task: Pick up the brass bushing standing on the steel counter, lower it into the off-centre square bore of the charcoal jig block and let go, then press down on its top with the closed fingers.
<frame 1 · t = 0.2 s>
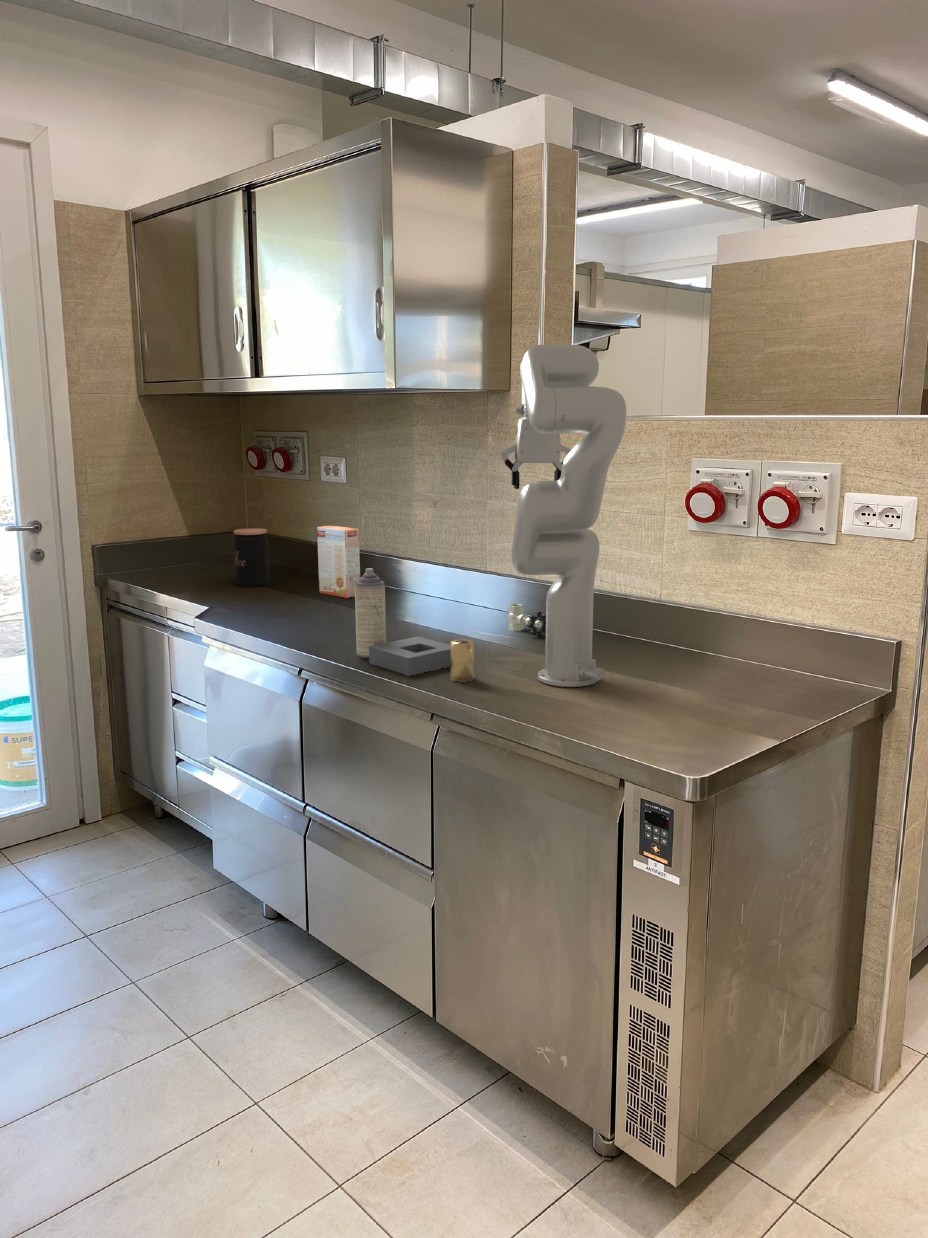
hand: (536, 488, 215), 37 cm above the counter, tool pointing down, fingers open, 9 cm apart
charcoal jig: (414, 664, 203), on the counter
cracker box: (340, 595, 285), on the counter
coffee jar: (253, 585, 302), on the counter
valve: (525, 633, 233), on the counter
brass bushing: (462, 679, 192), on the counter
aerosol can: (371, 656, 212), on the counter
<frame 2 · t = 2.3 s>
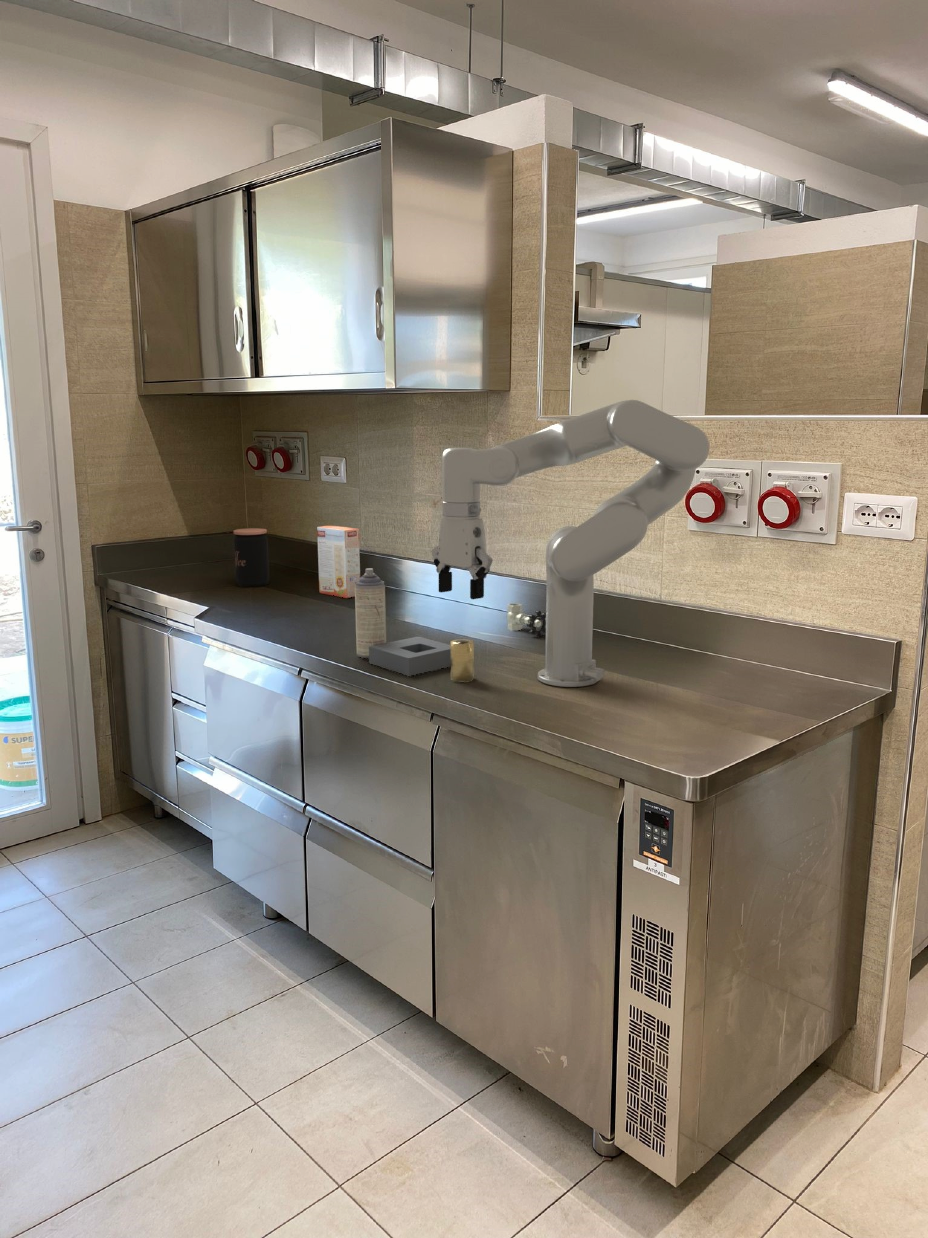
hand: (460, 594, 188), 18 cm above the counter, tool pointing down, fingers open, 9 cm apart
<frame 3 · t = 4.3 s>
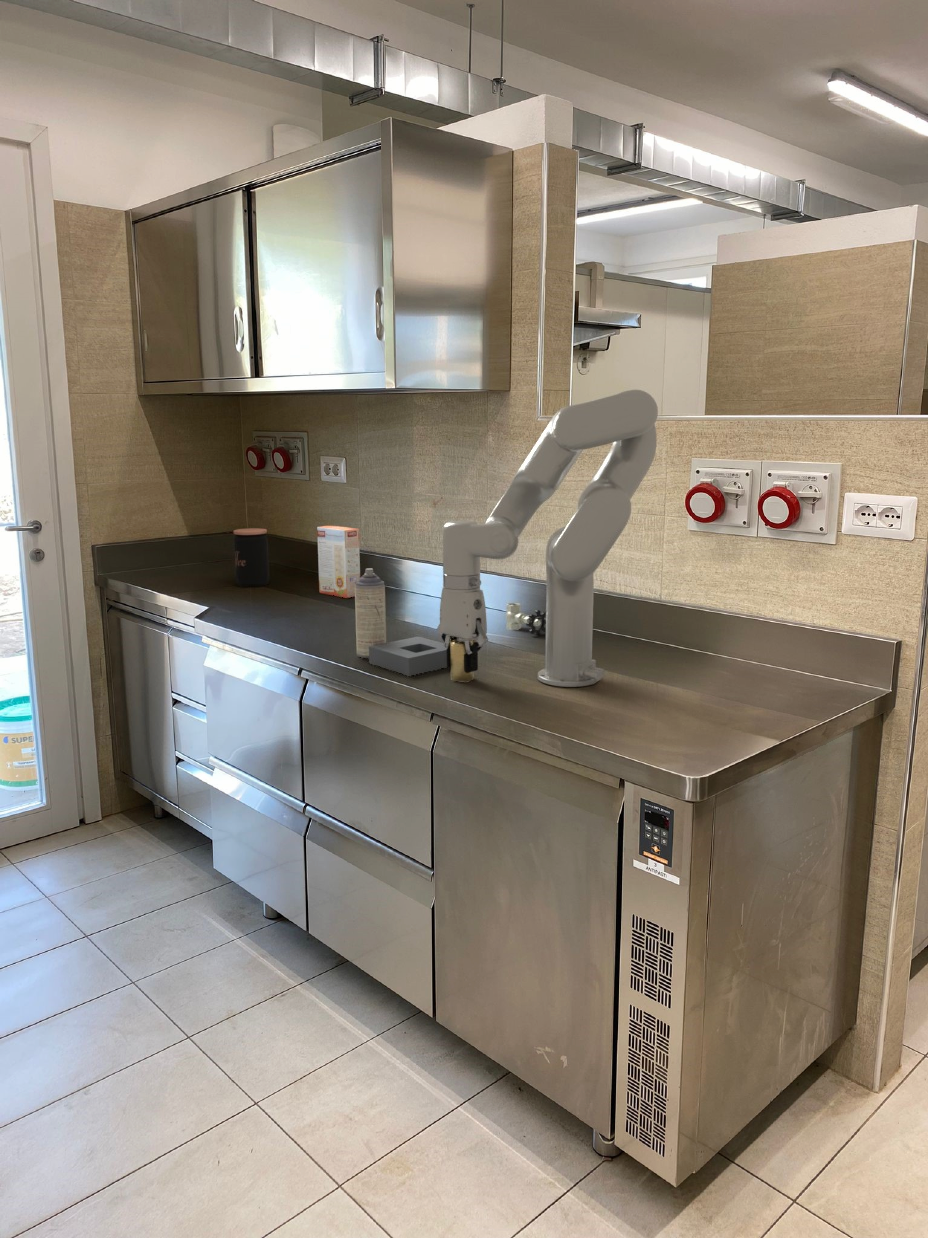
hand: (462, 668, 191), 2 cm above the counter, tool pointing down, fingers closed on brass bushing, 4 cm apart
brass bushing: (462, 679, 192), on the counter, touching gripper
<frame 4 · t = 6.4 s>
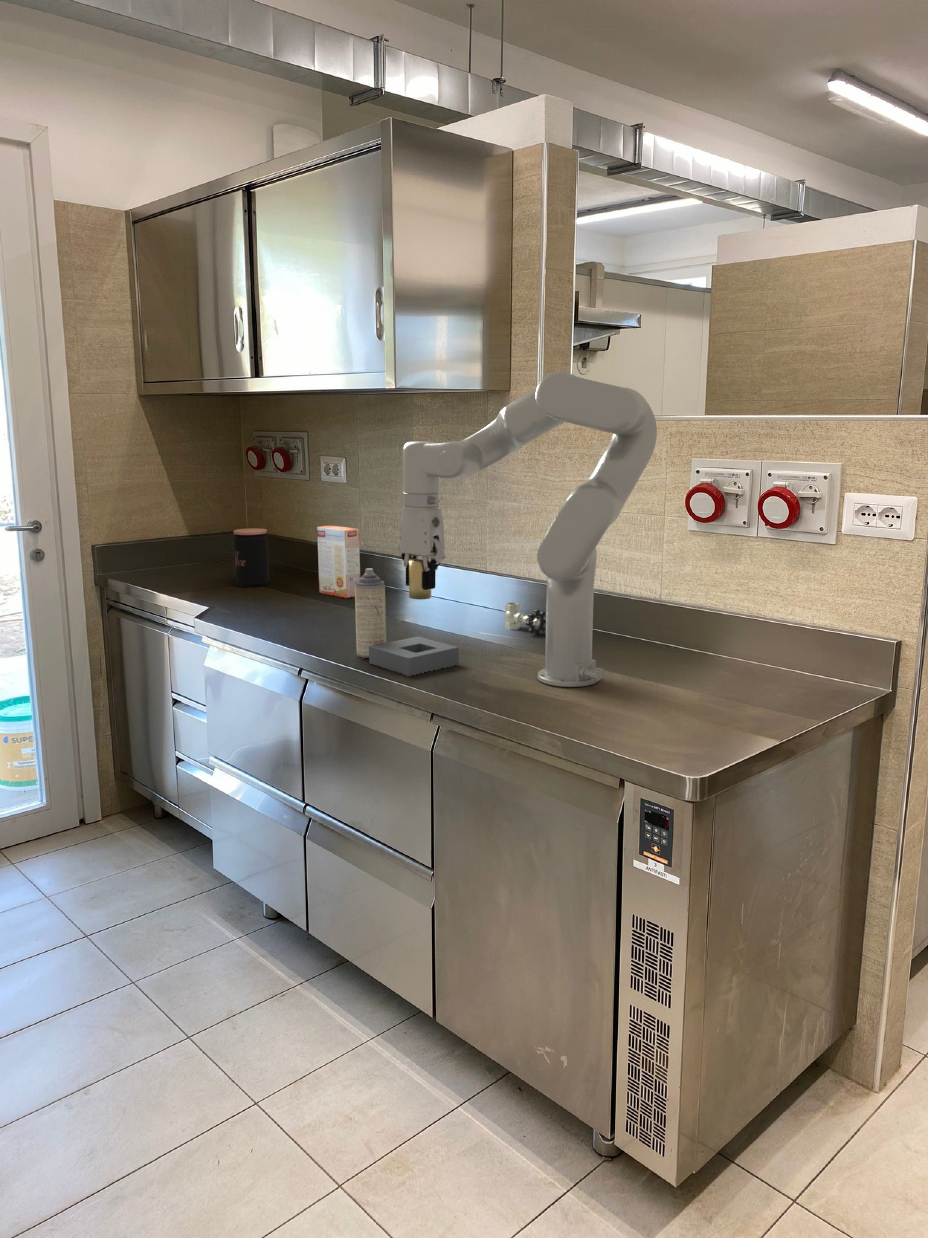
hand: (420, 586, 197), 18 cm above the counter, tool pointing down, fingers closed on brass bushing, 4 cm apart
brass bushing: (420, 597, 198), point 16 cm above the counter, touching gripper
when the fingers open (5 cm above the counter, at t = 8.8 s): brass bushing drops 2 cm, resting in charcoal jig.
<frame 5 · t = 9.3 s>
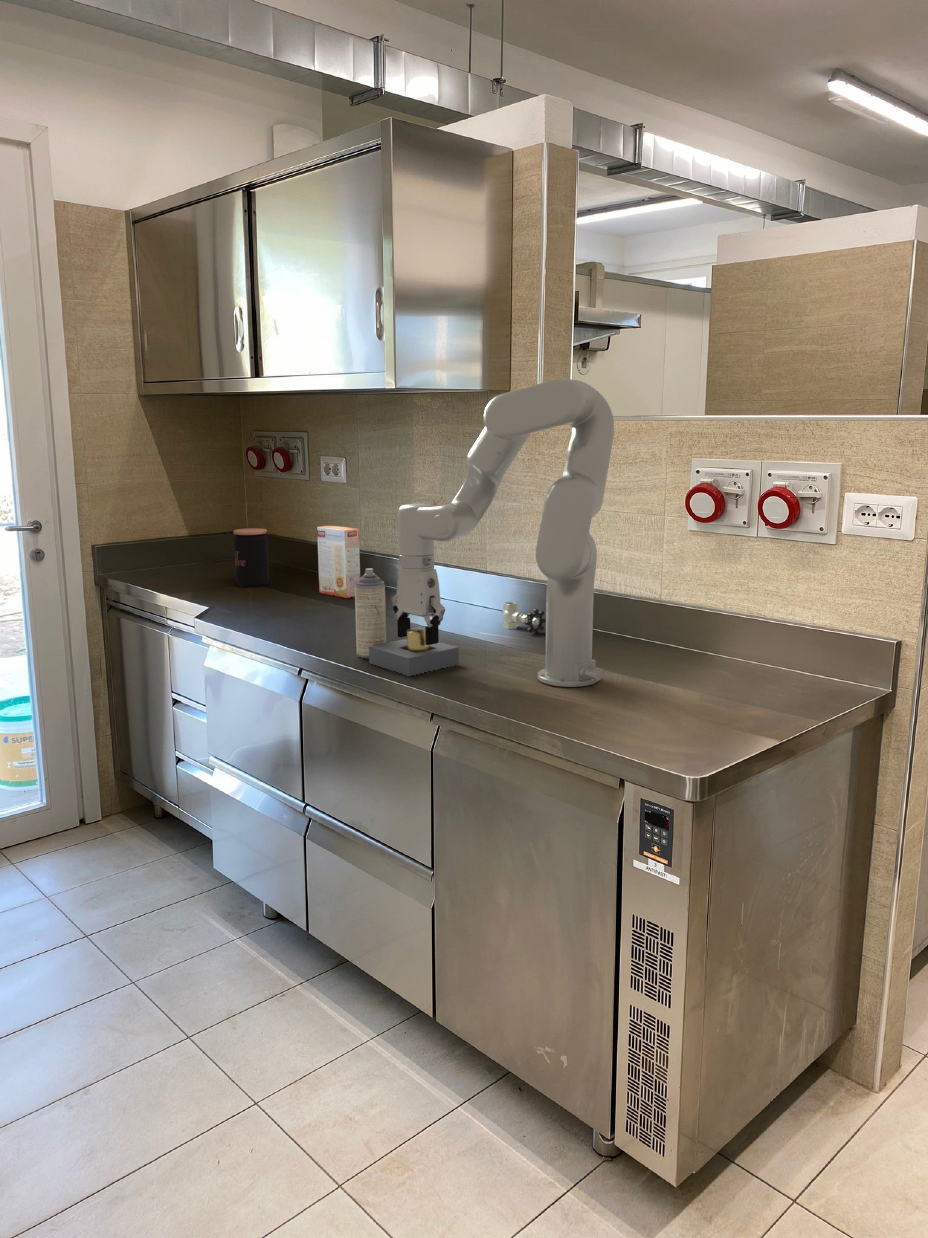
hand: (417, 640, 201), 6 cm above the counter, tool pointing down, fingers open, 9 cm apart
brass bushing: (418, 666, 202), resting in charcoal jig
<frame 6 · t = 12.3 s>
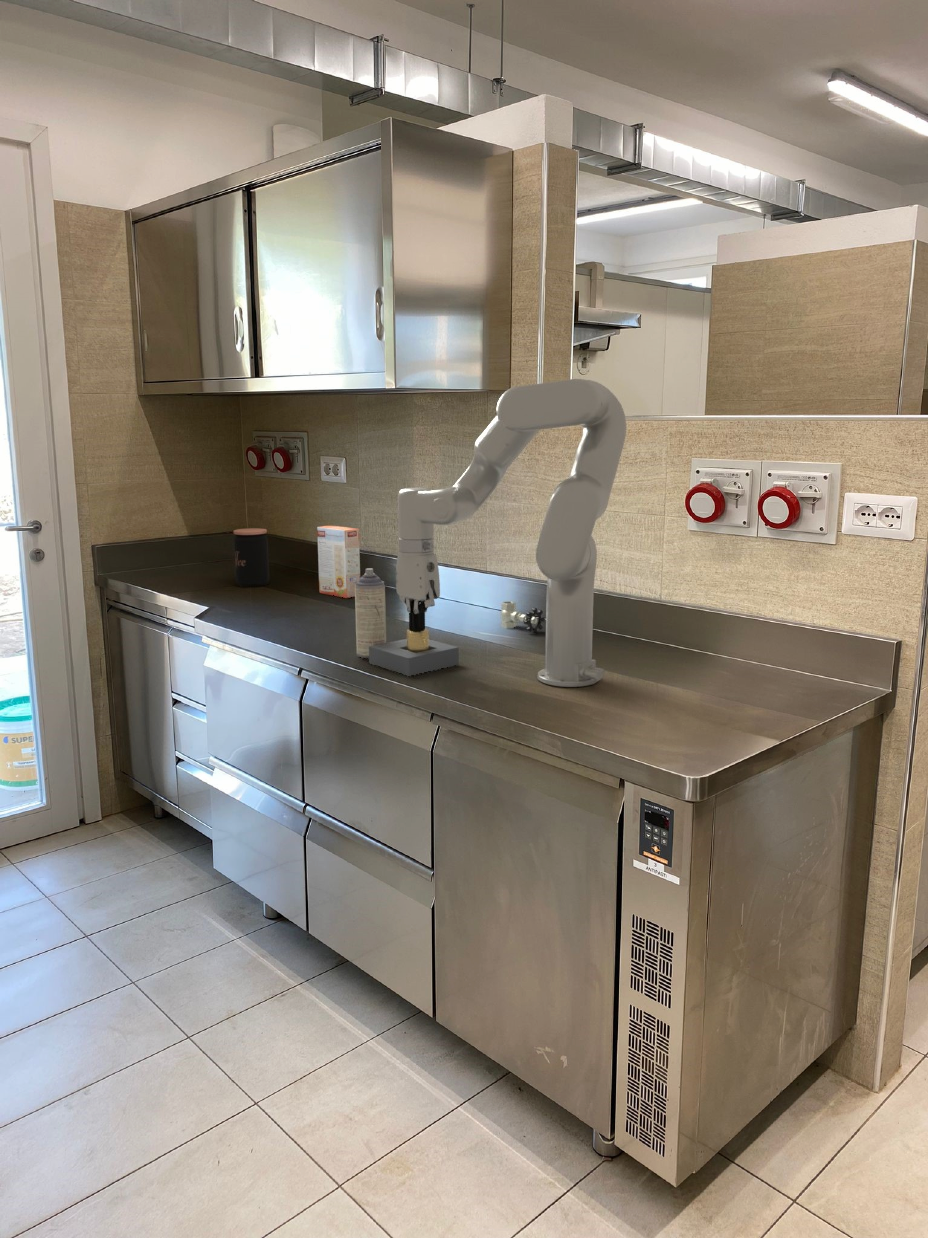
hand: (417, 630, 201), 8 cm above the counter, tool pointing down, fingers closed
brass bushing: (418, 666, 202), resting in charcoal jig, touching gripper
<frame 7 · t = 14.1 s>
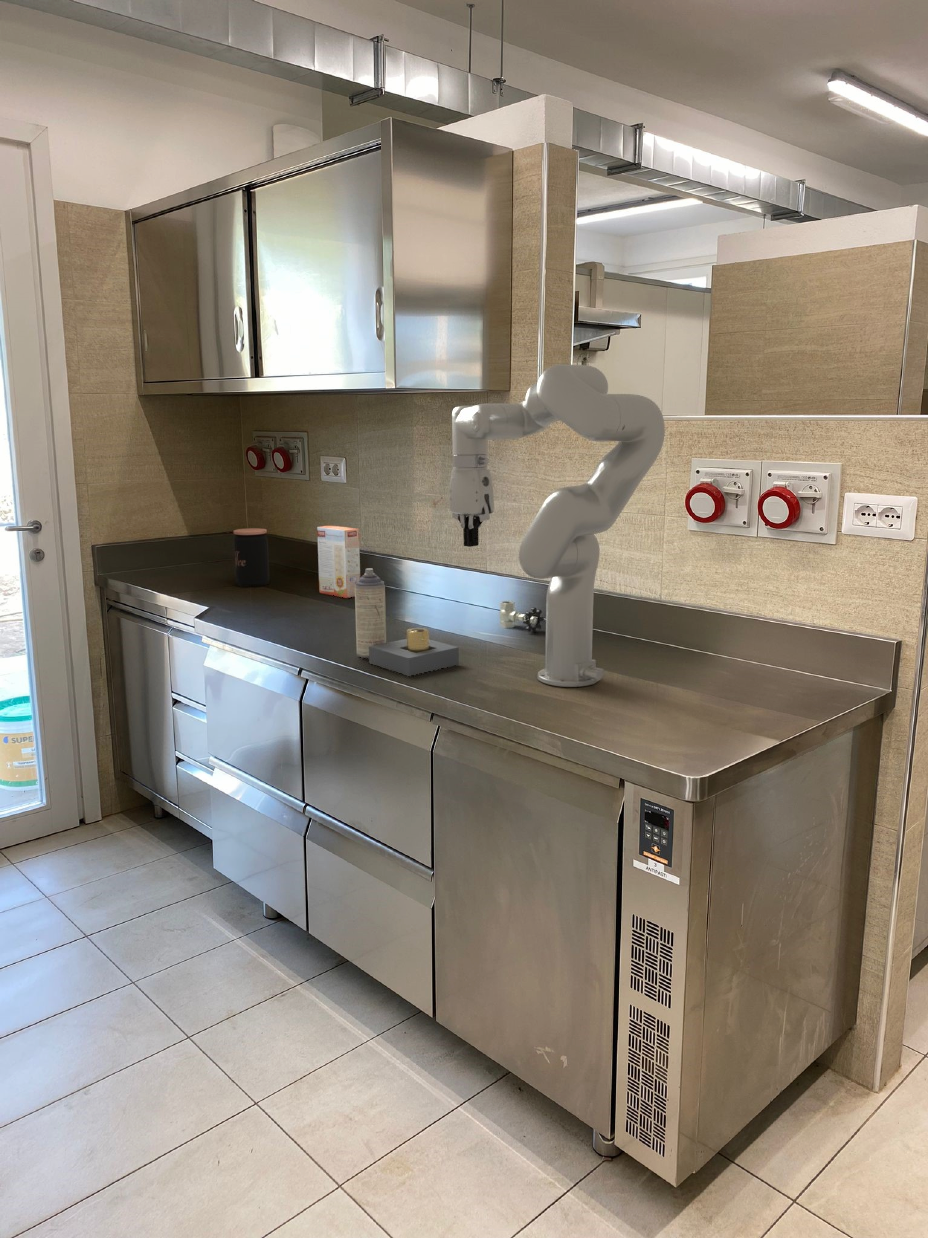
hand: (471, 545, 207), 25 cm above the counter, tool pointing down, fingers closed
brass bushing: (418, 666, 202), resting in charcoal jig
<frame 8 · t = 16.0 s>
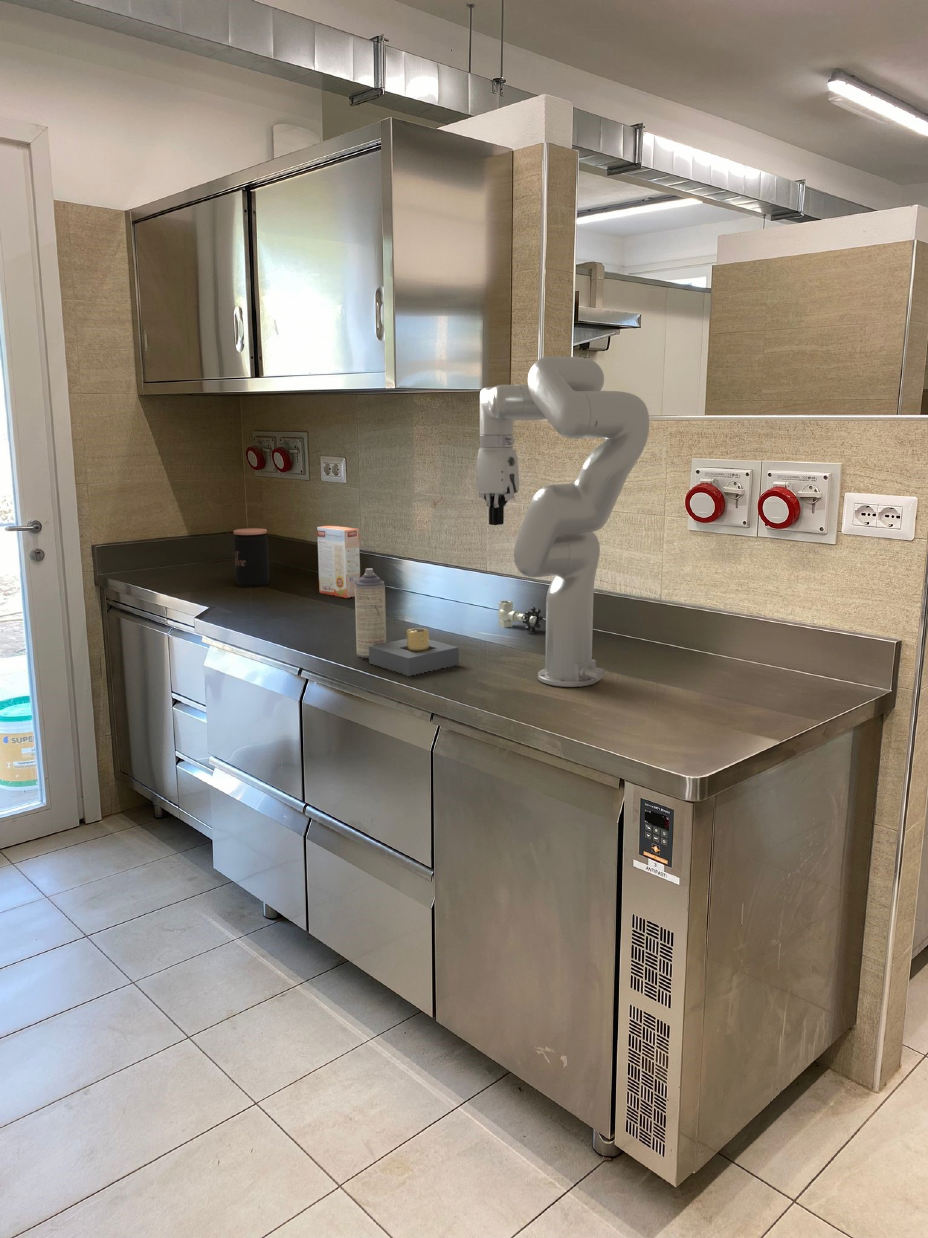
hand: (496, 524, 212), 29 cm above the counter, tool pointing down, fingers closed
at the end: brass bushing 0.1 cm from the target spot on the charcoal jig, point 0.0 cm above the charcoal jig's base; brass bushing tilted 0°; the gripper is holding nothing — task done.
